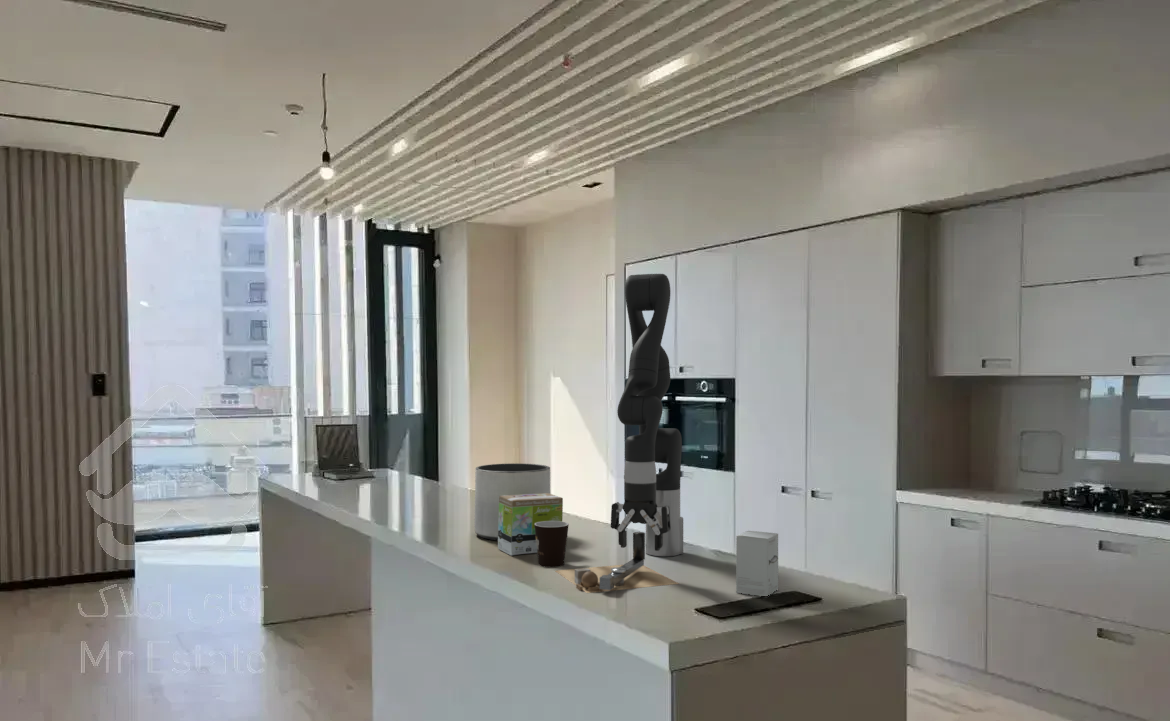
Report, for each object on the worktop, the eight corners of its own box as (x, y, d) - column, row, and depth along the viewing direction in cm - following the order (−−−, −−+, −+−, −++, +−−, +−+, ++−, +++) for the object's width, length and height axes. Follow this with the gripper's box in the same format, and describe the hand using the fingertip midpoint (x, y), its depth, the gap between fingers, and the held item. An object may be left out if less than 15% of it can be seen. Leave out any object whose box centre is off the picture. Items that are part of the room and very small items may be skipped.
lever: (611, 590, 171) (612, 552, 171) (597, 588, 172) (597, 551, 172) (647, 566, 192) (647, 532, 193) (634, 564, 194) (634, 531, 194)
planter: (509, 525, 257) (509, 461, 257) (565, 533, 244) (566, 466, 244) (458, 536, 239) (458, 468, 239) (516, 545, 225) (517, 473, 226)
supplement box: (768, 598, 173) (767, 538, 173) (735, 593, 177) (735, 534, 177) (779, 590, 179) (779, 532, 179) (747, 585, 183) (747, 529, 183)
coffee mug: (564, 568, 198) (564, 527, 199) (530, 567, 200) (530, 526, 200) (574, 558, 210) (574, 519, 210) (542, 556, 212) (542, 518, 212)
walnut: (594, 585, 178) (594, 568, 178) (600, 589, 175) (600, 572, 175) (579, 586, 177) (579, 570, 177) (585, 590, 173) (585, 574, 173)
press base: (639, 568, 199) (639, 550, 199) (679, 589, 180) (679, 569, 180) (551, 576, 191) (551, 558, 191) (583, 598, 172) (583, 579, 172)
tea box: (511, 557, 212) (511, 500, 212) (497, 549, 220) (497, 495, 221) (563, 551, 219) (563, 496, 219) (547, 544, 227) (547, 491, 228)
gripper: (673, 479, 193) (674, 548, 192) (618, 476, 198) (618, 543, 198) (663, 483, 186) (664, 554, 186) (606, 480, 191) (606, 549, 191)
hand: (640, 548), depth 192 cm, fingers open, 8 cm apart
